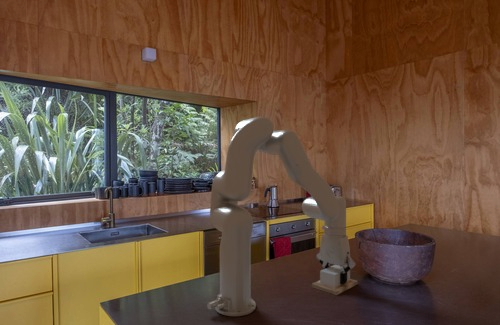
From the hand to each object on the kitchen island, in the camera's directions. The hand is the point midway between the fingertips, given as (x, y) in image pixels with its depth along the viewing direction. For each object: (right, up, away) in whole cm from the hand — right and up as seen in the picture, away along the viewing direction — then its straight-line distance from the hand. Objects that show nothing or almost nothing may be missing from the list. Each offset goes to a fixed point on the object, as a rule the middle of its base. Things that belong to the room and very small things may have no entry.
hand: (335, 280), depth 124 cm
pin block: (0, -2, 0) cm, 2 cm away
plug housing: (0, -1, 0) cm, 1 cm away
